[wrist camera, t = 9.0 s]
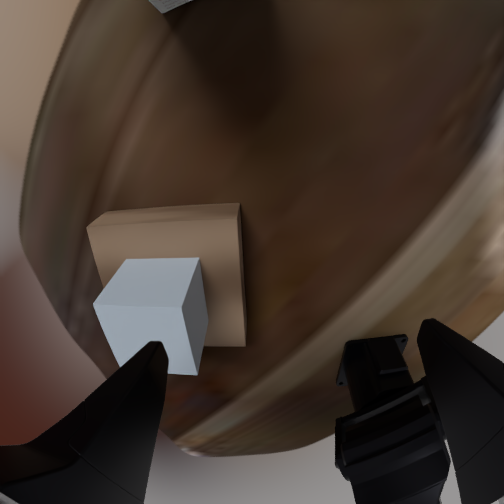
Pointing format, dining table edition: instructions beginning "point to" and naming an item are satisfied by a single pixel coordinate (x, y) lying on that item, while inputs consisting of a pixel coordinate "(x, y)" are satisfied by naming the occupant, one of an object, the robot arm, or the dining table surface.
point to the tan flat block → (183, 255)
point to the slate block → (156, 310)
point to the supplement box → (167, 4)
